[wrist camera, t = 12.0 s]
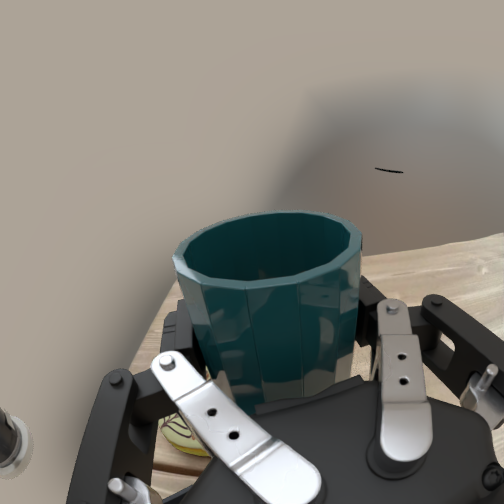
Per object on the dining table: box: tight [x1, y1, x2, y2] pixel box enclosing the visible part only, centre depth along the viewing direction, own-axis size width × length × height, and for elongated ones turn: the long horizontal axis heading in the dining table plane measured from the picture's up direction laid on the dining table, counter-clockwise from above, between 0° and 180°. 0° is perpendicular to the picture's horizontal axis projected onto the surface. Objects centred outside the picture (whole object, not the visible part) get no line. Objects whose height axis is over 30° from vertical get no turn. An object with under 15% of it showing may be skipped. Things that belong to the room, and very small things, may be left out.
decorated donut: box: [158, 367, 211, 456], centre depth 24 cm, size 10×11×4 cm
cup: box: [172, 210, 362, 416], centre depth 12 cm, size 6×6×10 cm
